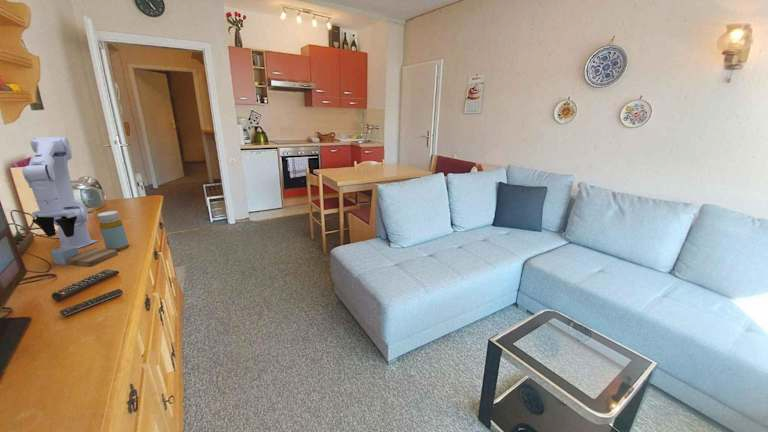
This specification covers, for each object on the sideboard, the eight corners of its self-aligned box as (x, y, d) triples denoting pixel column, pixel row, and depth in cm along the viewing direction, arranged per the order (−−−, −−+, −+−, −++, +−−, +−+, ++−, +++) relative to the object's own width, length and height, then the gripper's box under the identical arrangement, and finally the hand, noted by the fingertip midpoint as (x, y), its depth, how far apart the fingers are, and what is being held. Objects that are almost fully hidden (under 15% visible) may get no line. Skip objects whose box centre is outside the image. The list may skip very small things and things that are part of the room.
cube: (55, 263, 115) (50, 251, 113) (70, 257, 119) (66, 245, 118) (66, 265, 114) (61, 252, 112) (81, 259, 118) (76, 246, 117)
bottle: (116, 252, 123) (105, 216, 118) (102, 251, 125) (91, 215, 120) (133, 245, 130) (123, 211, 125) (119, 244, 131) (109, 210, 126)
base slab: (68, 264, 114) (66, 259, 113) (97, 252, 123) (95, 248, 123) (90, 266, 112) (88, 261, 112) (118, 254, 122) (116, 249, 121)
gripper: (16, 202, 106) (30, 239, 110) (53, 202, 104) (66, 240, 108) (40, 197, 113) (53, 232, 117) (75, 197, 111) (87, 233, 115)
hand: (61, 236), depth 113 cm, fingers open, 7 cm apart
